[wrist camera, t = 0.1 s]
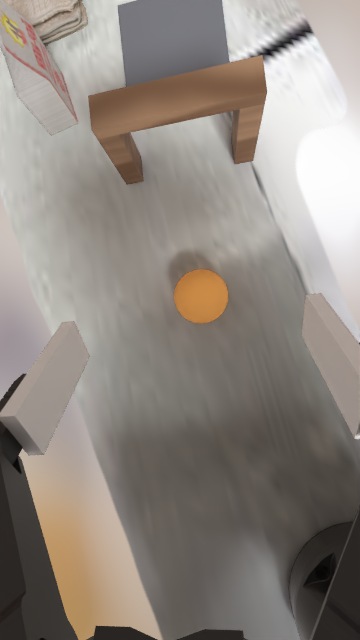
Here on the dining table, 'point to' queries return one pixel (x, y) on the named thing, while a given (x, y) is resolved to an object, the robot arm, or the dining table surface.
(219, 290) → the ball
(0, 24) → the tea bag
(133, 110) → the bridge
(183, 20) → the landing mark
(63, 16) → the washcloth
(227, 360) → the dining table surface
